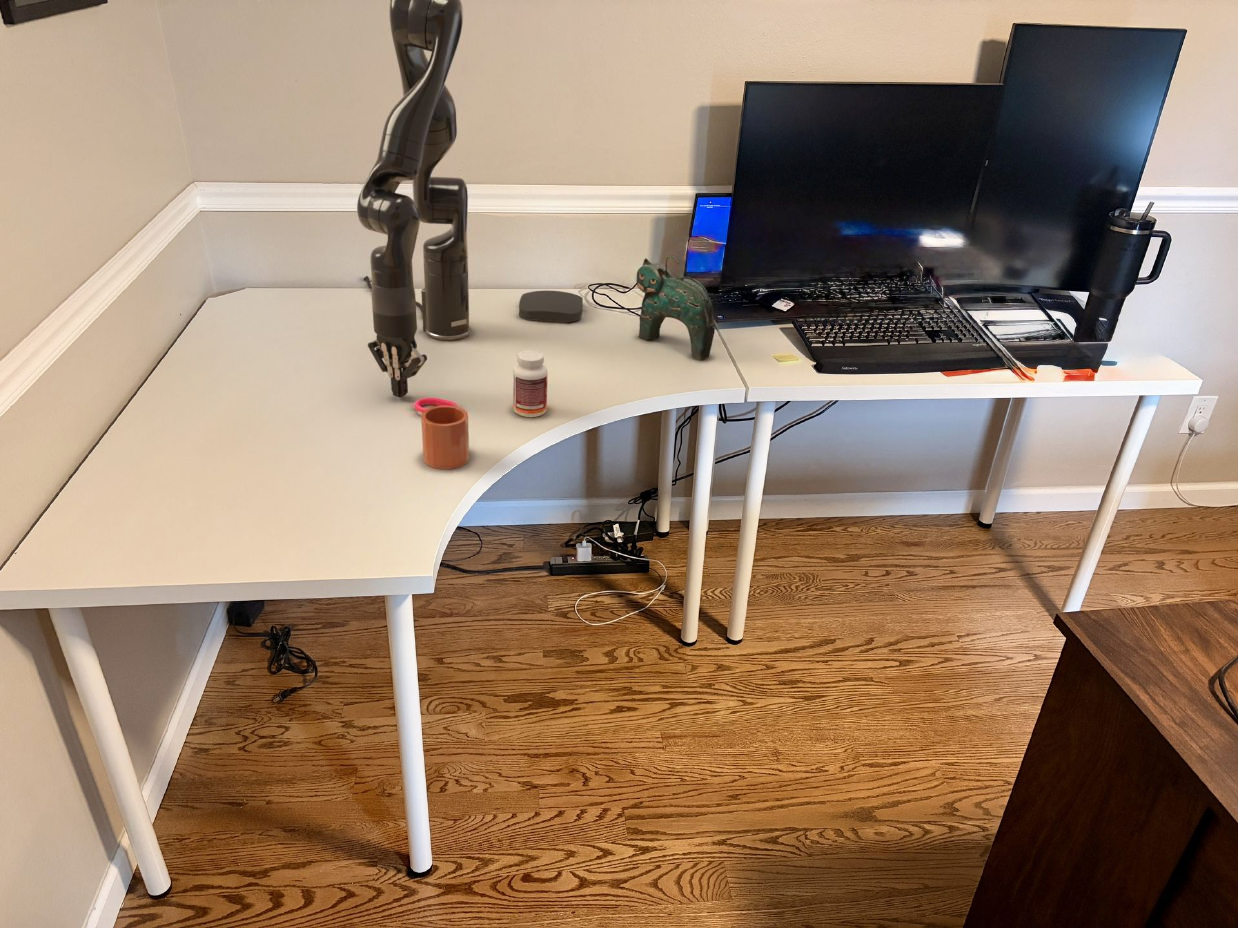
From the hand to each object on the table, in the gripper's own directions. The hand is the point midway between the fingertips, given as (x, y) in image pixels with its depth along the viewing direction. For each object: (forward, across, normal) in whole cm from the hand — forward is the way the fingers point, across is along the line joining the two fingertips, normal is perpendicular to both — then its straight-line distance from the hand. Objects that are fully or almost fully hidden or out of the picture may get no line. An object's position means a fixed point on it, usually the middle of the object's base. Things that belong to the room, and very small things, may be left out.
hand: (399, 395), depth 168 cm
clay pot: (+1, -22, +12) cm, 25 cm away
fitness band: (+1, -9, 0) cm, 9 cm away
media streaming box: (+1, +6, -56) cm, 57 cm away
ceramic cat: (+1, -27, -57) cm, 63 cm away
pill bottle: (+1, -22, -11) cm, 24 cm away
